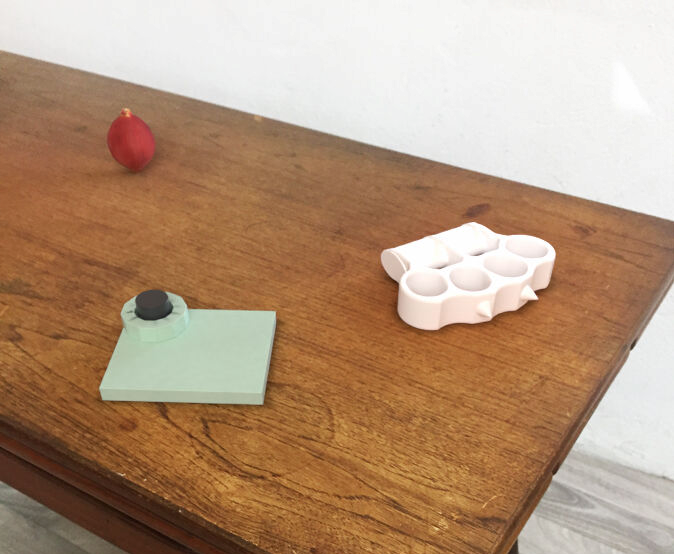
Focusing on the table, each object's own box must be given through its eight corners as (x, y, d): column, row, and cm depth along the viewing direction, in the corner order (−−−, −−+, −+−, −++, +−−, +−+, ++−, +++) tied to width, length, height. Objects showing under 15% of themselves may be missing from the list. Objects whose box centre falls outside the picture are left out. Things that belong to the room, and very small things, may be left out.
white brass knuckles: (487, 234, 85) (579, 296, 76) (354, 279, 78) (438, 352, 69) (491, 206, 83) (587, 267, 74) (355, 250, 76) (442, 323, 67)
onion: (110, 165, 97) (96, 102, 91) (154, 158, 98) (143, 95, 93) (118, 185, 93) (104, 119, 87) (164, 177, 95) (153, 113, 89)
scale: (102, 400, 65) (94, 373, 63) (135, 316, 73) (129, 290, 71) (263, 404, 64) (260, 378, 62) (276, 320, 73) (275, 294, 71)
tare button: (134, 321, 68) (131, 307, 67) (142, 302, 70) (139, 288, 69) (167, 322, 68) (164, 308, 67) (173, 303, 70) (171, 289, 69)
